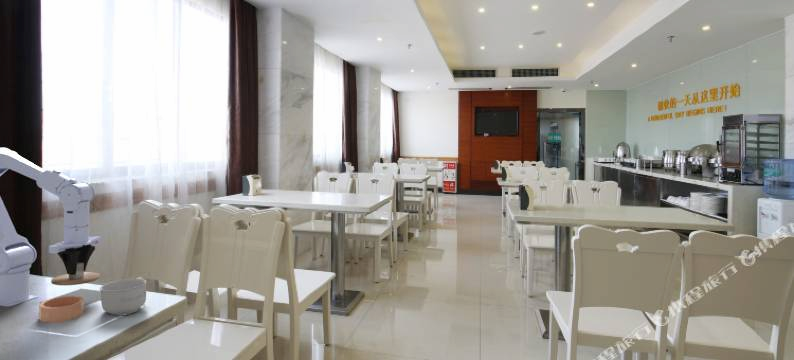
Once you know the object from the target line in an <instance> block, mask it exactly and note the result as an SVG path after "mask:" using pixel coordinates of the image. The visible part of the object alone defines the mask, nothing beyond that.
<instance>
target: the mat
mask: <svg viewBox="0 0 794 360" xmlns="http://www.w3.org/2000/svg"><path fill="white" fill-rule="evenodd" d="M65 296H78V297H82V298H83V299H84V307H85V306H89V305H91V304H94V303H96V302H98V301H101V290H96V289H95V290H94V289H88V288H87V289H86V288H79V289H76V290H73V291H70V292H67V293H64V294H61V295H59V296H55V297H53V298H58V297H65ZM53 298H51V299H53ZM42 302H43V301H40V302H39V304H41V303H42Z"/></svg>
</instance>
